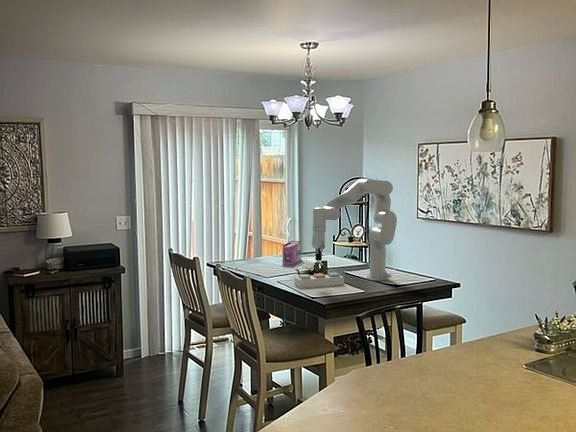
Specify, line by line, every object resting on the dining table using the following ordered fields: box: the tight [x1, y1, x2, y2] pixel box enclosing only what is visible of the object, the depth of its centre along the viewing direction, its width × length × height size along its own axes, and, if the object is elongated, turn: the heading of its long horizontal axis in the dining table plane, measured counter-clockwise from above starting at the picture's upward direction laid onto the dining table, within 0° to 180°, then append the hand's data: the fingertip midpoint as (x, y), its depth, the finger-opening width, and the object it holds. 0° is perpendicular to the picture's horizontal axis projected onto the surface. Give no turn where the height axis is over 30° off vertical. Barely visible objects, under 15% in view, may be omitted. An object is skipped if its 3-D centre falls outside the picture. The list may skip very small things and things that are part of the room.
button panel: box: [294, 274, 345, 289], centre depth 329 cm, size 27×9×4 cm, turn 107°
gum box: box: [282, 240, 302, 266], centre depth 400 cm, size 24×8×14 cm, turn 164°
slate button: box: [327, 272, 340, 277], centre depth 331 cm, size 5×5×3 cm
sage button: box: [298, 273, 312, 279], centre depth 326 cm, size 5×5×3 cm
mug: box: [301, 258, 324, 272], centre depth 365 cm, size 12×10×8 cm
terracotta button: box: [312, 272, 326, 278], centre depth 328 cm, size 5×5×3 cm
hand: (318, 260), depth 327 cm, fingers closed
